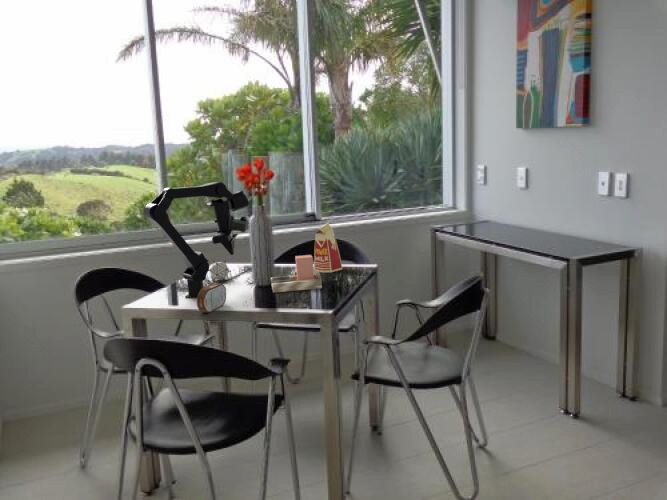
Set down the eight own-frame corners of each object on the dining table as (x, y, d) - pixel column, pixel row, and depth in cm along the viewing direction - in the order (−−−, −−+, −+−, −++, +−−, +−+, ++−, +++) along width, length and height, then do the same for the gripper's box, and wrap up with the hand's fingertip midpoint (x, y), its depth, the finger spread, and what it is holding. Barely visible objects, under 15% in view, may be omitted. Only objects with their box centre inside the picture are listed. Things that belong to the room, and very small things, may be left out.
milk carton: (326, 267, 283) (323, 220, 279) (343, 269, 277) (340, 221, 274) (312, 271, 276) (309, 224, 272) (329, 273, 270) (326, 224, 267)
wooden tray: (273, 292, 242) (272, 281, 242) (271, 285, 255) (270, 274, 255) (321, 287, 245) (321, 277, 244) (317, 280, 257) (317, 270, 257)
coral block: (298, 284, 247) (296, 258, 246) (297, 282, 252) (295, 256, 251) (314, 283, 248) (312, 257, 246) (312, 280, 253) (311, 254, 251)
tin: (221, 303, 231) (218, 280, 229) (229, 304, 230) (226, 280, 228) (197, 315, 217) (194, 290, 216) (205, 316, 216) (203, 290, 214)
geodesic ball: (225, 288, 273) (237, 267, 274) (219, 285, 264) (232, 263, 265) (207, 277, 274) (219, 256, 275) (200, 274, 266) (213, 252, 267)
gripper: (236, 217, 238) (246, 258, 242) (249, 206, 256) (258, 244, 260) (207, 222, 240) (217, 263, 244) (222, 210, 258) (231, 248, 262)
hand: (232, 254), depth 252 cm, fingers closed
